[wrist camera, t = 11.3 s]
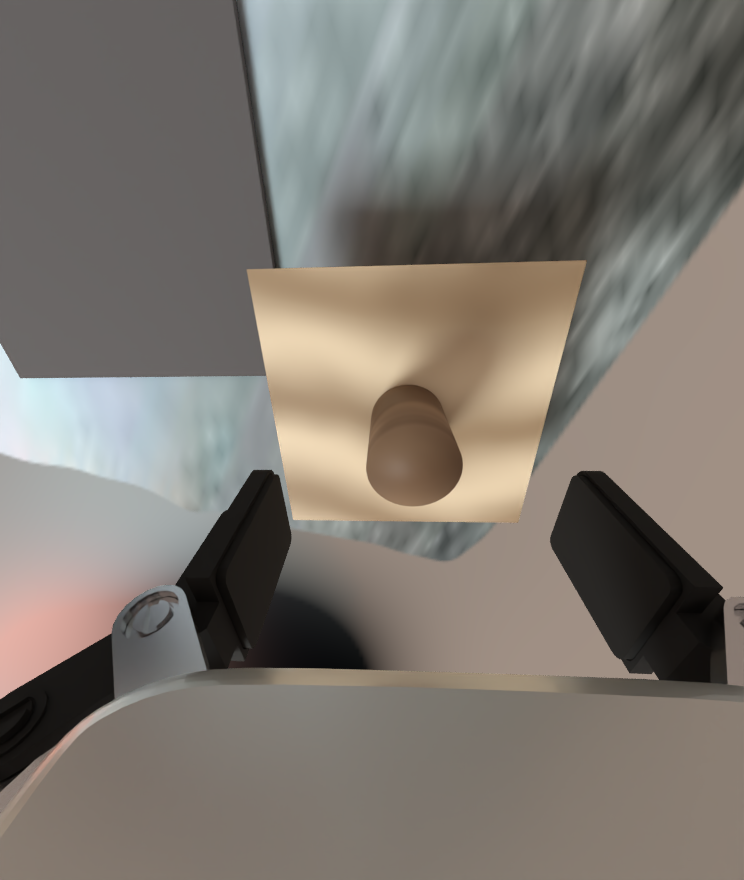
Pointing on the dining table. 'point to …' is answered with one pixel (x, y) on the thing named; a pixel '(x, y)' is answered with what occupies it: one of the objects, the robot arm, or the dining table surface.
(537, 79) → the dining table surface
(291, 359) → the beech lid
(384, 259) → the dining table surface
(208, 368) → the rubber mat
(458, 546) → the dining table surface
